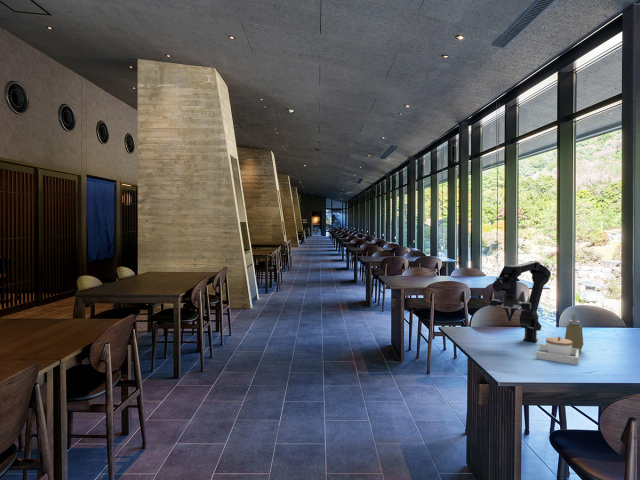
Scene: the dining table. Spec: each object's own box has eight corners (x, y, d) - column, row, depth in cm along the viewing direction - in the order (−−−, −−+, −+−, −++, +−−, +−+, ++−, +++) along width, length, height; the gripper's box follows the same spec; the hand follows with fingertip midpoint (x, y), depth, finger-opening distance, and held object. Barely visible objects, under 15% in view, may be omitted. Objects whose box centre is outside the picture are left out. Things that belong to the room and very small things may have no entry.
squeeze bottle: (581, 348, 213) (582, 312, 213) (585, 353, 206) (586, 315, 205) (562, 347, 216) (563, 311, 215) (566, 351, 208) (567, 314, 208)
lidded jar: (571, 361, 192) (572, 340, 191) (544, 357, 197) (545, 337, 197) (572, 355, 201) (573, 335, 201) (546, 352, 206) (546, 332, 206)
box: (539, 349, 211) (539, 343, 211) (579, 355, 202) (579, 348, 202) (535, 358, 197) (535, 351, 197) (577, 364, 188) (577, 357, 188)
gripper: (487, 290, 217) (487, 321, 218) (528, 294, 207) (528, 326, 208) (492, 288, 227) (491, 317, 227) (531, 291, 217) (531, 322, 217)
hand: (509, 321), depth 219 cm, fingers closed
